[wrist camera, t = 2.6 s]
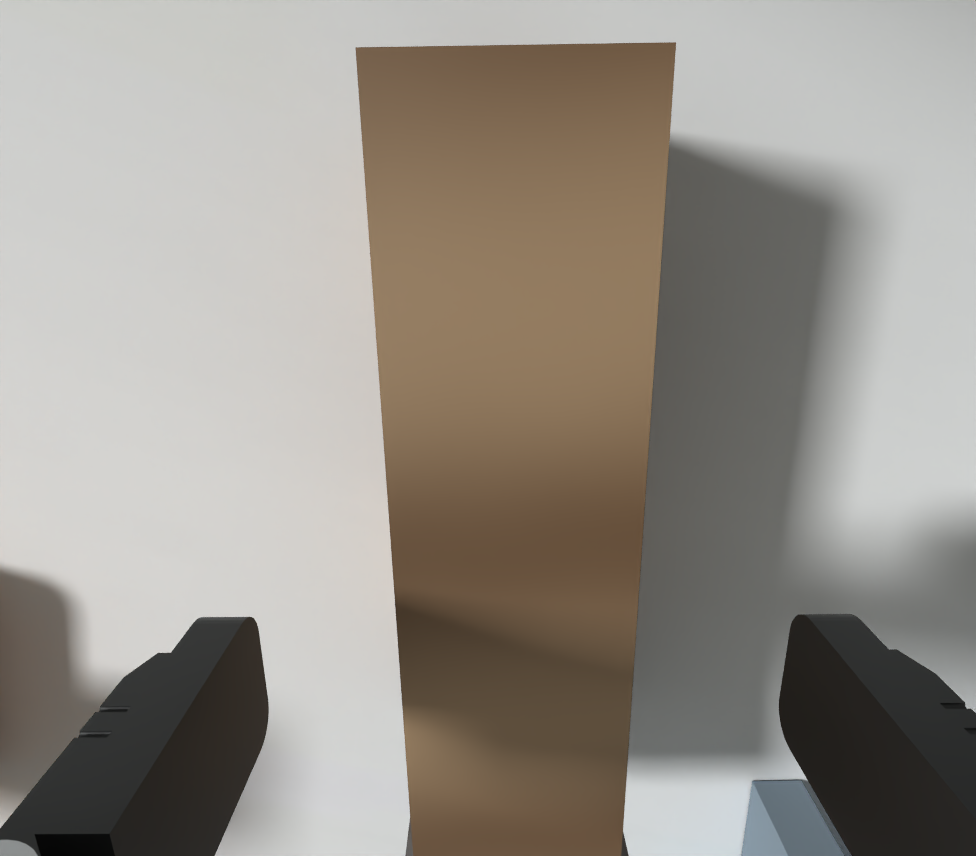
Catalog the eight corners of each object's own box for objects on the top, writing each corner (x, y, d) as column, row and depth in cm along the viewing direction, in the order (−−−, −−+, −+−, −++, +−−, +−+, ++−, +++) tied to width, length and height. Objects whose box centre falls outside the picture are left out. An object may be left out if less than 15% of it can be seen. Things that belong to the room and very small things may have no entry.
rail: (399, 120, 14) (339, 47, 8) (604, 117, 14) (692, 41, 8) (431, 720, 19) (409, 941, 13) (581, 717, 19) (625, 937, 13)
